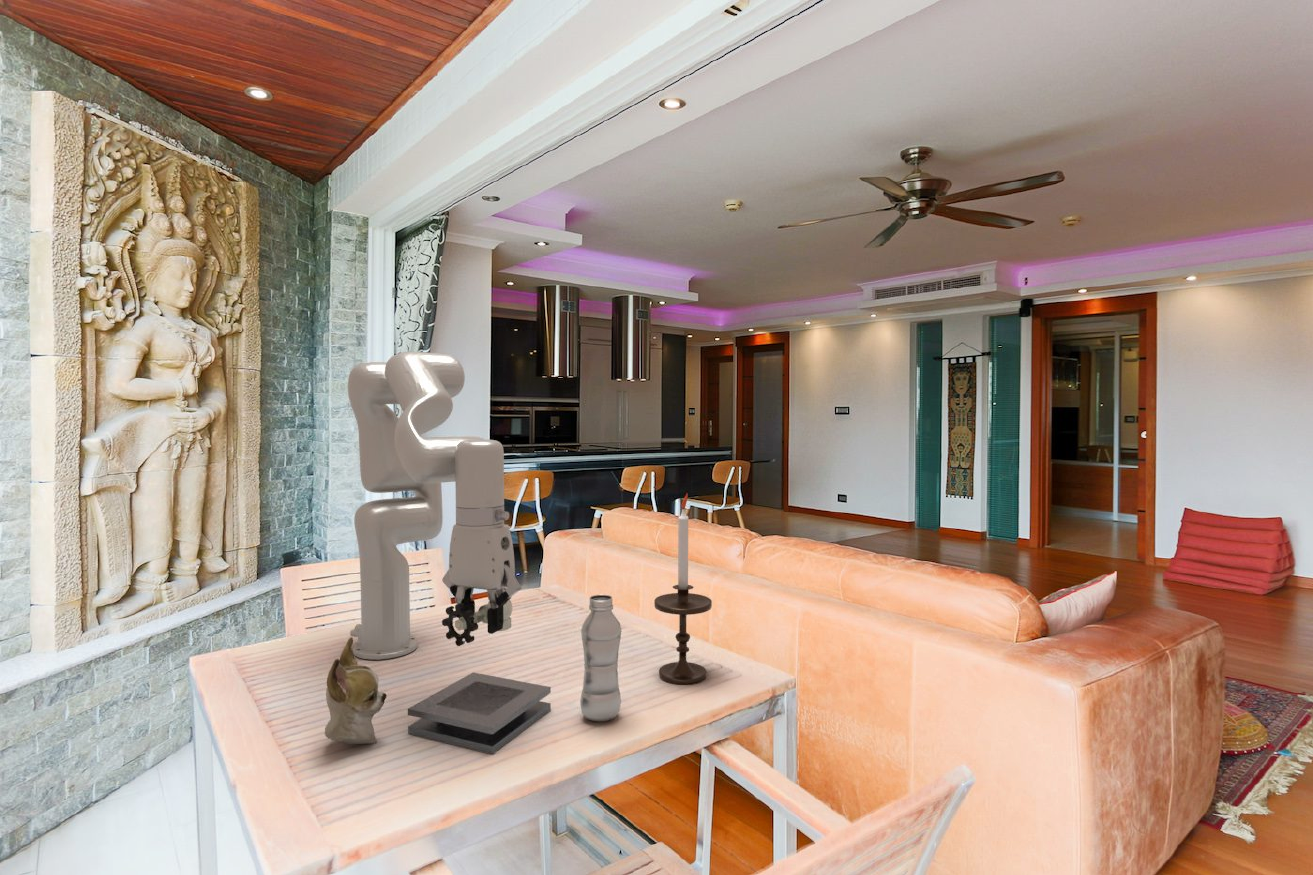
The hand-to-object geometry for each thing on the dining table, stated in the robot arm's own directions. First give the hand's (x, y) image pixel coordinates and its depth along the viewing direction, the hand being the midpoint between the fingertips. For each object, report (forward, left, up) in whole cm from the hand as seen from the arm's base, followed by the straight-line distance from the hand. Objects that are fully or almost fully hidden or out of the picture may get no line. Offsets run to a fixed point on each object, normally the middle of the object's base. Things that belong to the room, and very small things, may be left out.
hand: (481, 627), depth 111 cm
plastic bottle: (+17, +9, -16) cm, 25 cm away
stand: (0, 0, -15) cm, 15 cm away
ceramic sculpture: (-13, -14, -16) cm, 24 cm away
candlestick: (+23, +31, -16) cm, 42 cm away
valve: (0, +1, -2) cm, 2 cm away
